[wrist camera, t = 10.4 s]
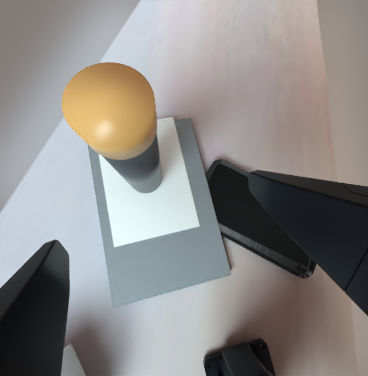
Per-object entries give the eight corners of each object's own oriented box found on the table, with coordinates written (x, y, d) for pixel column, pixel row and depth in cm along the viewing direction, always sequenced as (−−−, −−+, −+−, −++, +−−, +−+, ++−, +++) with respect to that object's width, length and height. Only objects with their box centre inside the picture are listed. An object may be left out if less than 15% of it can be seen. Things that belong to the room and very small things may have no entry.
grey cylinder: (170, 181, 21) (172, 112, 8) (141, 201, 20) (93, 160, 7) (150, 154, 21) (122, 48, 9) (121, 172, 21) (44, 89, 8)
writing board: (228, 272, 20) (231, 274, 19) (115, 304, 19) (113, 308, 18) (188, 118, 23) (189, 113, 23) (88, 135, 22) (85, 131, 21)
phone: (309, 282, 20) (185, 215, 20) (302, 279, 21) (184, 216, 22) (332, 216, 22) (216, 154, 22) (324, 216, 23) (214, 158, 23)
